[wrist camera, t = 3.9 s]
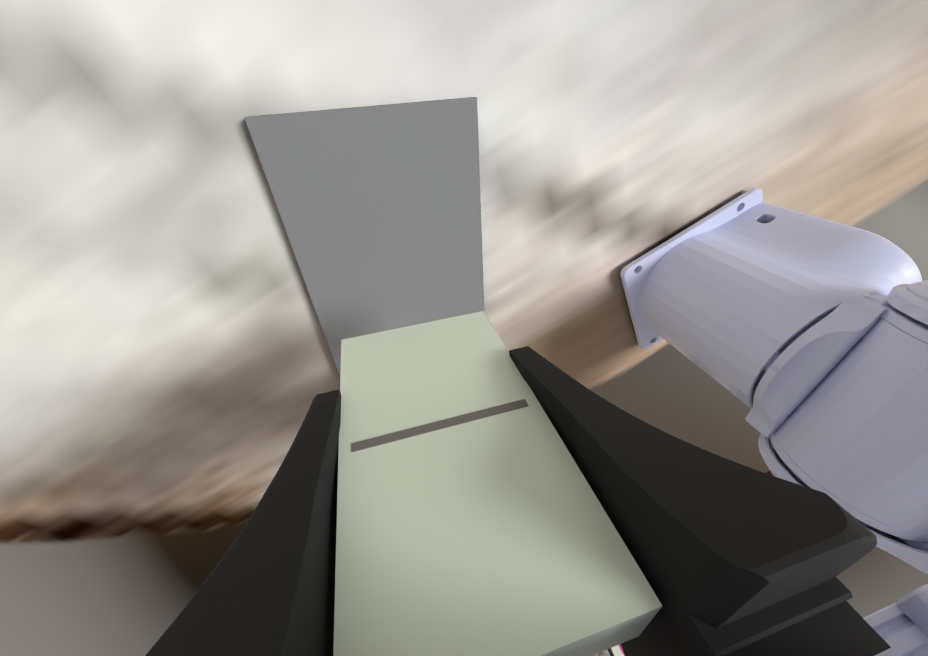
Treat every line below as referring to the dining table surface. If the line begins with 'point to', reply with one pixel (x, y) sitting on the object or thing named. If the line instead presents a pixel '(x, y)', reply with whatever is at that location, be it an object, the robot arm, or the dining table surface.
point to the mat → (379, 211)
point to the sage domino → (467, 509)
